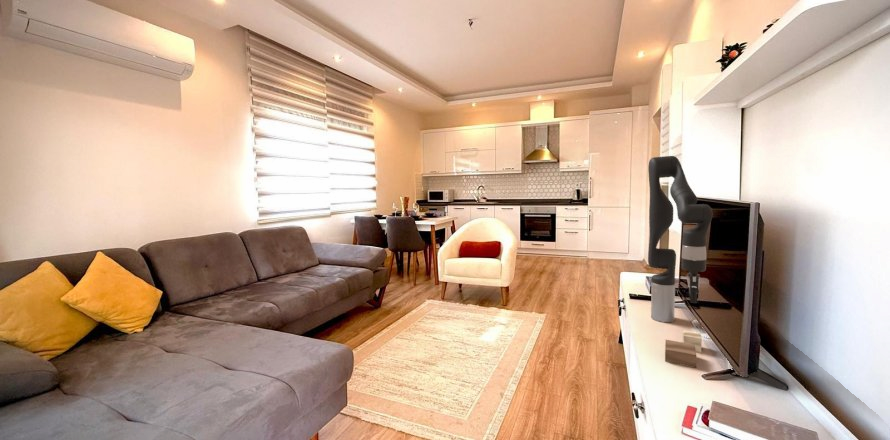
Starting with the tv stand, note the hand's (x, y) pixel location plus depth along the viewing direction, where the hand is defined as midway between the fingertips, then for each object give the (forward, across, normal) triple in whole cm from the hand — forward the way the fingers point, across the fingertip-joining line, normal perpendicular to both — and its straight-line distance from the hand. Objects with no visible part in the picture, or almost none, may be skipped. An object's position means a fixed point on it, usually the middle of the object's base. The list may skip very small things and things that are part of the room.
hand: (692, 299), depth 130 cm
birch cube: (+19, 0, 0) cm, 19 cm away
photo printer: (+19, +12, +12) cm, 26 cm away
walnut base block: (+19, +12, -4) cm, 23 cm away
